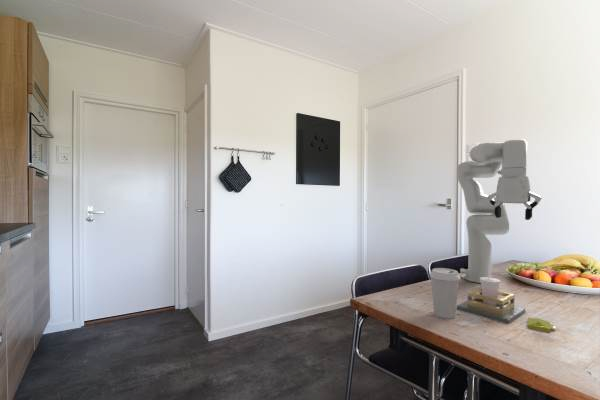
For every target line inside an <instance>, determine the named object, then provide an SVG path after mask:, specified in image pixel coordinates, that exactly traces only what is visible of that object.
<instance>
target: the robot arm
mask: <svg viewBox="0 0 600 400" xmlns="http://www.w3.org/2000/svg"><path fill="white" fill-rule="evenodd" d="M527 148H528V142H527V141H526V139H522V138H519V139H518V138H515V139H509V140H505V141H504V142H501V141H500V142H484V143H479V144H478V145H475V146H474V147H472V148H471V149H470V152H469V158H470V159H471V160H469V161H468V160H467V161H464V162H460V163H459V164H458V165H457V167H456V177H457V181H458V182H459V184H460V187H461V188H462V190H463V191H462V192H463V195H464V201H465V205H466V210H467V212H468V213H470V214H472V215H469V216H468V217H467V219H466V221H465V222H466V223H465V224H466V230H467V238H468V239H467V240H468V242H467V243H468V244H467V246H468V251H467V252H468V253H467V254H468V258H467V259H468V263H467V264H468V265H467V267H468V268H467V269H465V268H463V267H462V268H460V269H459V272H460V273H461V274H465V275H464V279H465V280H466V281H469V282H472V283H475V284H476V283H478V284H481V282H480V278H481V277H488V267H490V277H491V278H492V244H491V241H490V240H489V239H488V237H487V236H488V235H489V236H490V235H492V236H493V235H494V236H500V235H501V236H504V235H507V233H509V231H510V223H509V218H508V214H507V210H506V206H505V204H523V205H524V207H525V211H524V212H525V213H524V214H525V215H524V220H525V221H529V220H531V219H532V218H533V209H534V208H536V207H537V206H538V205H539V204H540V202H541V200H543V199H542V198H543V197H542V196H540V195H538V194H536V193H534V192H531V183H530V179H529V176H527V154H528V153H527V152H528V151H527V150H528V149H527ZM500 168H501V169H500ZM499 169H500V170H499ZM497 174H498V175H500V176H499V177H498V180H497V184H496V185H497V186H496V192H494V193H491V194H485V193H484V189H483V187H482V185H481V184H480V183H479V182H478V181H477V180H475V179H479V178H482V179H486V178H487V179H488V178H493V177H495V176H497ZM531 197H532V198H533V199H534V201H533V202H532V203H531V199H532V198H531Z"/></svg>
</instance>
